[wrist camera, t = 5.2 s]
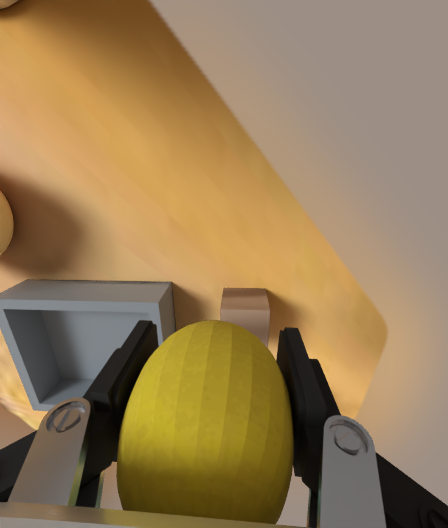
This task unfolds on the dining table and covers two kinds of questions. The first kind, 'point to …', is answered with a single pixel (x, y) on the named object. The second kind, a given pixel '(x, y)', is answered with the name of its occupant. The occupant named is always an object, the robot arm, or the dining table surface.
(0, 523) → the robot arm
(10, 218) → the sculpture
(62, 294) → the tote
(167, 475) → the lemon
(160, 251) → the dining table surface
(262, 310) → the walnut cube
